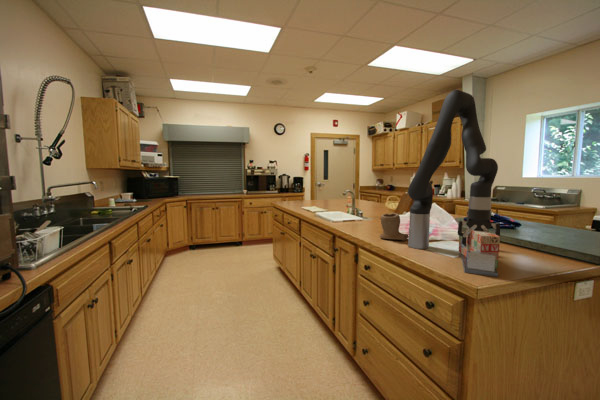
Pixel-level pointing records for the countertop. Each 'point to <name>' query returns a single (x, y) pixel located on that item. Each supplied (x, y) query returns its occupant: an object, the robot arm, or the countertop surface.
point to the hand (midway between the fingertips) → (477, 247)
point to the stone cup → (391, 227)
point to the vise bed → (464, 260)
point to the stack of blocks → (481, 243)
